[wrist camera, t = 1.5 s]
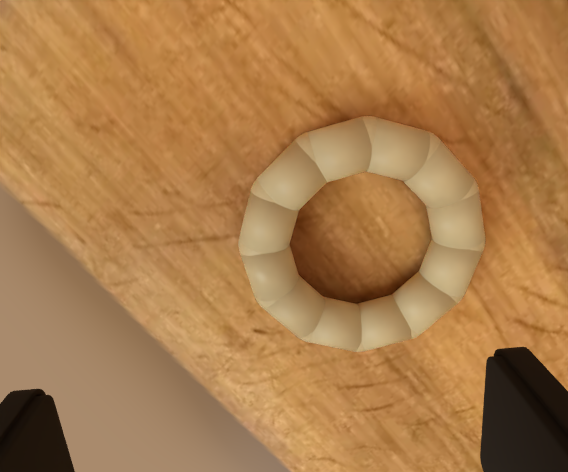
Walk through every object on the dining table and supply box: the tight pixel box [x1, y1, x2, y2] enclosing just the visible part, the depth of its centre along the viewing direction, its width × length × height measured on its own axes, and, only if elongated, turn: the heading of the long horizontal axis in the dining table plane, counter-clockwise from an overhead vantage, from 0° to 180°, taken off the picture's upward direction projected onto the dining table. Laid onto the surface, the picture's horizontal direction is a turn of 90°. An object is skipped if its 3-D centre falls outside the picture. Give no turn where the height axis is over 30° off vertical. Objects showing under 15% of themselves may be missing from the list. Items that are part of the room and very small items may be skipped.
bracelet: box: [238, 116, 486, 352], centre depth 19 cm, size 10×10×2 cm
